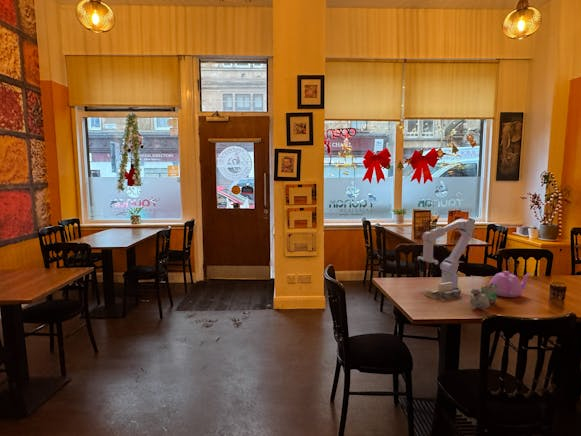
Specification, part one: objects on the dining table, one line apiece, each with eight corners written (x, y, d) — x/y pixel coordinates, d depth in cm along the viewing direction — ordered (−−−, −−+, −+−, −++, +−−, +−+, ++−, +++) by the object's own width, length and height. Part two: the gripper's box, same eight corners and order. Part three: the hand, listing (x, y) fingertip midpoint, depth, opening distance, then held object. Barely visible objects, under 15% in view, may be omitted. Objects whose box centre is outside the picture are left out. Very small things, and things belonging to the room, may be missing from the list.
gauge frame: (441, 290, 231) (441, 284, 230) (461, 297, 218) (461, 290, 217) (422, 293, 223) (422, 287, 223) (442, 301, 211) (442, 294, 210)
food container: (491, 307, 201) (493, 289, 200) (479, 304, 206) (481, 286, 205) (501, 303, 209) (503, 285, 208) (490, 300, 214) (491, 282, 212)
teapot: (537, 302, 211) (539, 277, 210) (494, 299, 216) (496, 275, 214) (522, 290, 233) (523, 268, 231) (483, 288, 237) (485, 266, 235)
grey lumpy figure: (492, 314, 190) (493, 290, 191) (471, 312, 192) (472, 288, 193) (487, 311, 200) (488, 288, 200) (467, 309, 202) (468, 286, 203)
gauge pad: (449, 293, 223) (450, 281, 222) (451, 293, 221) (452, 282, 221) (432, 296, 216) (432, 284, 216) (434, 297, 215) (435, 285, 214)
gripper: (414, 250, 236) (413, 271, 238) (432, 254, 224) (431, 277, 225) (422, 249, 240) (421, 270, 241) (441, 253, 227) (440, 275, 228)
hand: (427, 273), depth 233 cm, fingers open, 7 cm apart
